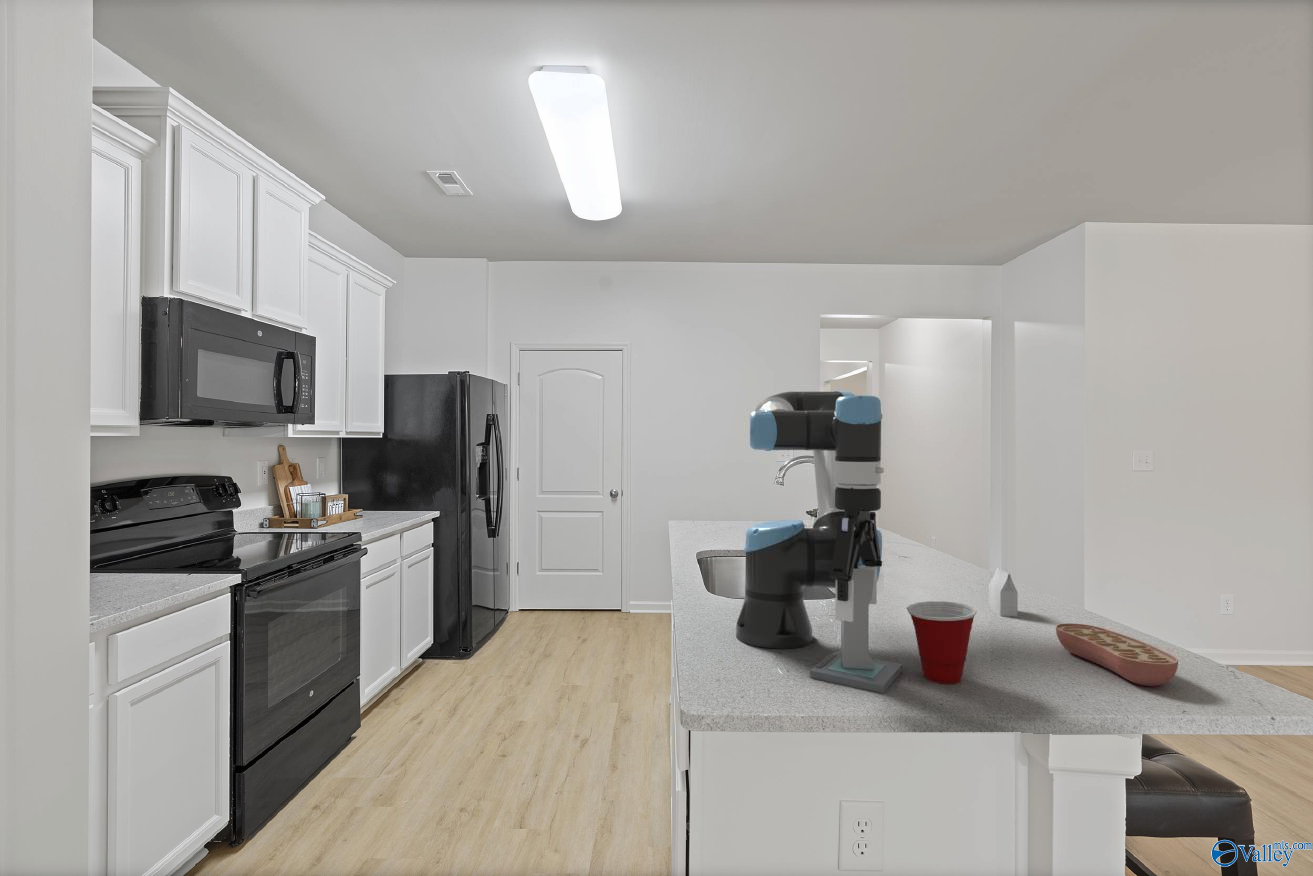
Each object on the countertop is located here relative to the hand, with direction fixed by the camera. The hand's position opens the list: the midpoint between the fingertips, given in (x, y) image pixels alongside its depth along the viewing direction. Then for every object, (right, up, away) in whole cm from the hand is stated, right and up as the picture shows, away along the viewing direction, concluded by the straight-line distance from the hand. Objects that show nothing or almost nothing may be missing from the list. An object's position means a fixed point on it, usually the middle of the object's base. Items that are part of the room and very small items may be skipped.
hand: (857, 611), depth 111 cm
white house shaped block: (+46, -11, +40) cm, 62 cm away
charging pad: (0, -11, 0) cm, 11 cm away
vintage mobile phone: (0, -10, 0) cm, 10 cm away
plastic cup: (+14, -11, -2) cm, 18 cm away
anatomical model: (+46, -11, +4) cm, 48 cm away
